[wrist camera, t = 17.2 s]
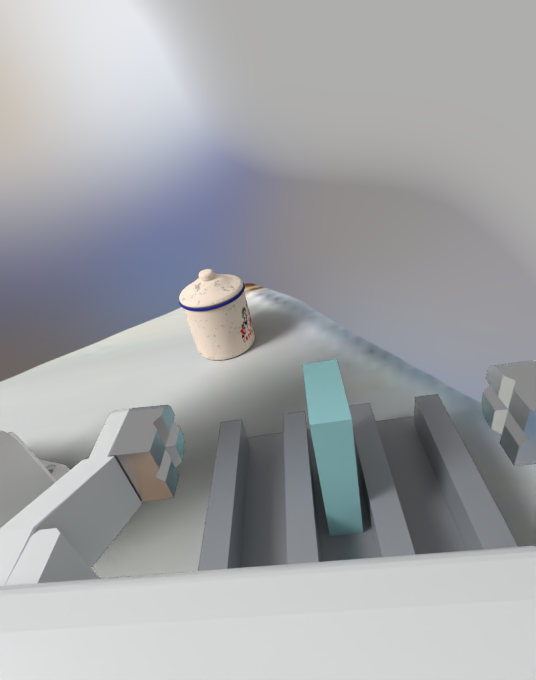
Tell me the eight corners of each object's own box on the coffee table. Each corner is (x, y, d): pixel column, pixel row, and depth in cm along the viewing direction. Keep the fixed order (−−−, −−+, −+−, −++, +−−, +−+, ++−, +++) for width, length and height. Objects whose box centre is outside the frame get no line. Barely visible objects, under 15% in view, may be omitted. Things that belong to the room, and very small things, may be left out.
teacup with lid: (261, 353, 54) (242, 276, 47) (196, 369, 53) (169, 294, 47) (251, 313, 64) (234, 245, 58) (197, 326, 64) (174, 260, 57)
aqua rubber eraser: (329, 536, 30) (309, 424, 23) (321, 470, 35) (302, 364, 28) (363, 532, 29) (351, 419, 23) (349, 467, 34) (336, 358, 28)
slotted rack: (213, 626, 27) (194, 595, 24) (233, 447, 40) (222, 414, 38) (517, 606, 25) (530, 568, 22) (431, 422, 38) (433, 386, 36)
